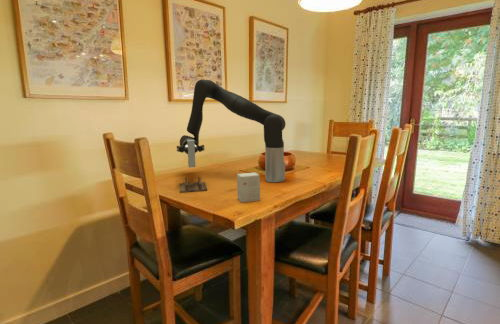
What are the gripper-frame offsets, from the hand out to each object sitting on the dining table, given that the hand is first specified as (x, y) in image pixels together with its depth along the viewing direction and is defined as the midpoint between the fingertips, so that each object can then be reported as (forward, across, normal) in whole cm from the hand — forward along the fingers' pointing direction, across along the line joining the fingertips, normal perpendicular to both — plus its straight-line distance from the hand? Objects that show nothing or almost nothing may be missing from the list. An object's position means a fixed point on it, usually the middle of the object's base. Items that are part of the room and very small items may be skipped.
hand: (191, 150), depth 131 cm
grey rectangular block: (-2, 0, +8) cm, 8 cm away
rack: (-2, 0, +18) cm, 18 cm away
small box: (+23, +21, +18) cm, 36 cm away
